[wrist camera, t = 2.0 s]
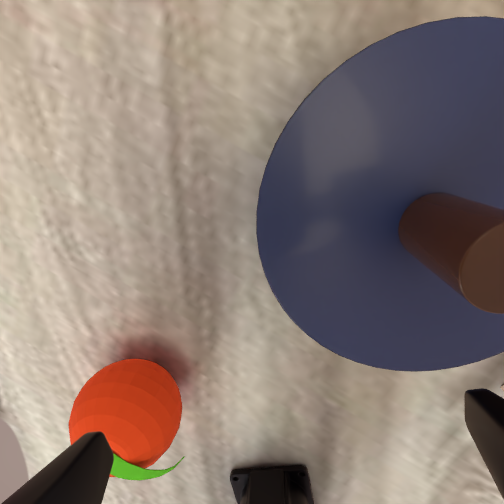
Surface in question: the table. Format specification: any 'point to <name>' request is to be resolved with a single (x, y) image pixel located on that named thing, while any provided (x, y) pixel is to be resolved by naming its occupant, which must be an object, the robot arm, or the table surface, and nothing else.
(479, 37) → the tin lid
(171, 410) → the clementine
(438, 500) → the table surface
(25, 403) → the table surface
